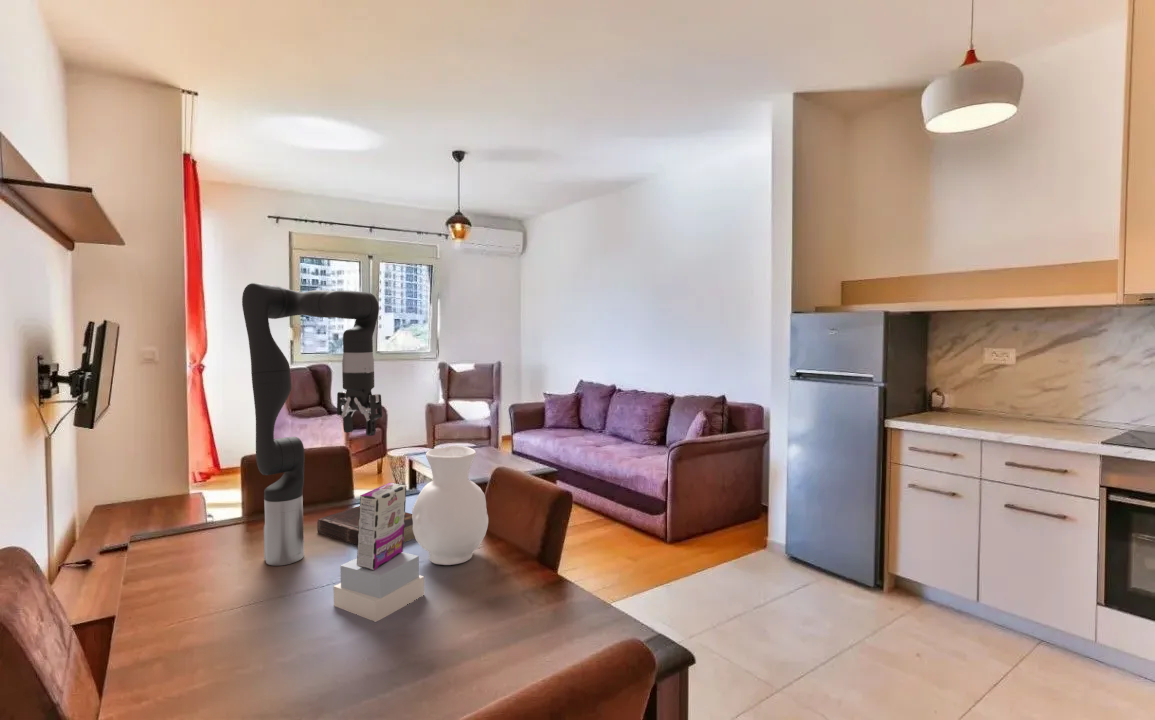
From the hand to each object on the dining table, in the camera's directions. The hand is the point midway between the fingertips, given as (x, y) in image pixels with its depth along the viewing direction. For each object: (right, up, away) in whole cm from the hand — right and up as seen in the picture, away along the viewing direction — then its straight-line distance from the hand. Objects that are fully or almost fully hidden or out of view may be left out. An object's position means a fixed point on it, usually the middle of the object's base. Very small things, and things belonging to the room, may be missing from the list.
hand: (359, 433), depth 141 cm
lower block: (+10, -37, -13) cm, 41 cm away
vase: (+21, -36, +10) cm, 43 cm away
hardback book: (-8, -35, +30) cm, 47 cm away
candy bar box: (+10, -27, -14) cm, 32 cm away
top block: (+10, -32, -14) cm, 37 cm away
